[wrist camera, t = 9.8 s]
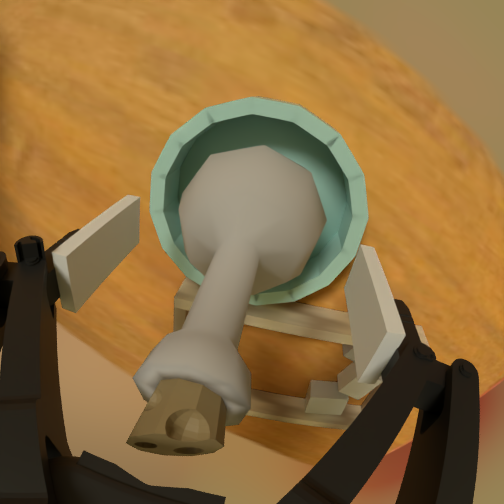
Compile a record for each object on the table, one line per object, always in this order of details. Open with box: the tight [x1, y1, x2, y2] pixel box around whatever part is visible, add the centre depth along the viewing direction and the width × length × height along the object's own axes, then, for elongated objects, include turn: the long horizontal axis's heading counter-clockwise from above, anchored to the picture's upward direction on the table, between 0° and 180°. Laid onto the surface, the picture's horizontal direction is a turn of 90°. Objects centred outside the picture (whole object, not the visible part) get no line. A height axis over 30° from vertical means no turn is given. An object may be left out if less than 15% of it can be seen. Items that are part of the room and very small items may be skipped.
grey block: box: [305, 380, 349, 415], centre depth 31 cm, size 4×3×2 cm
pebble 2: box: [337, 362, 382, 400], centre depth 29 cm, size 4×3×2 cm
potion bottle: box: [126, 145, 327, 456], centre depth 15 cm, size 9×9×18 cm
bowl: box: [150, 96, 368, 305], centre depth 22 cm, size 14×14×4 cm
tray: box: [173, 277, 429, 430], centre depth 29 cm, size 22×14×3 cm, turn 80°
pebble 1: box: [342, 344, 355, 362], centre depth 27 cm, size 4×2×2 cm
